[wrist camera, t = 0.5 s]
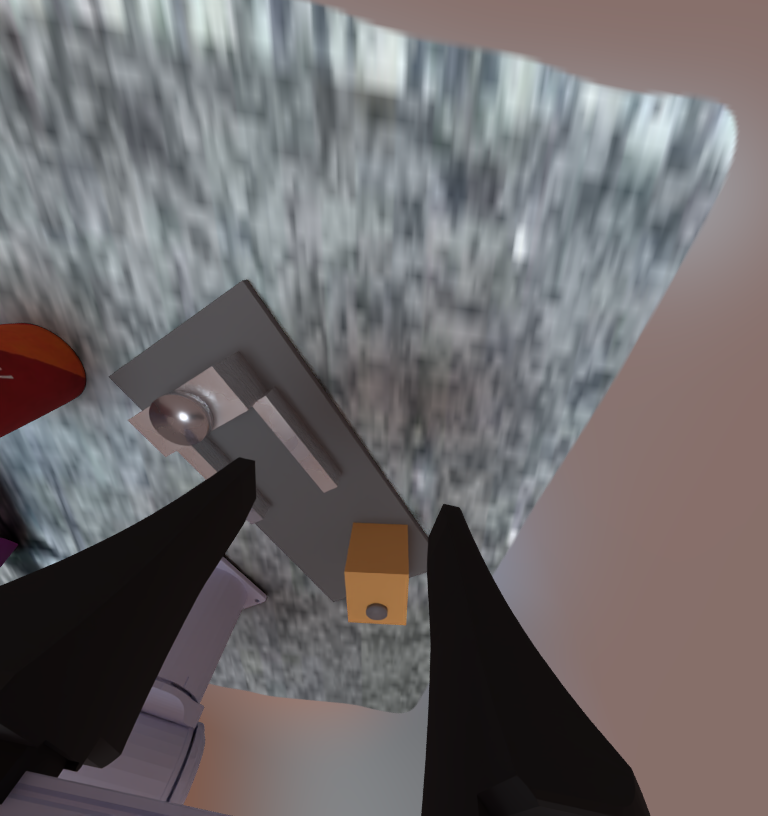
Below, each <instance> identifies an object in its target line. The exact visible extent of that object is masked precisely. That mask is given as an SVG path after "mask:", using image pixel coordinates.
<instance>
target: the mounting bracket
mask: <svg viewBox="0 0 768 816" xmlns="http://www.w3.org/2000/svg"><path fill="white" fill-rule="evenodd" d="M17 546H18V544H17V543H15V542H12V541H10V540H7V539H4V538H0V567H1V566H2V565H3V563H4V562H5V561H6V560H7V558H8V557H9V556H10V555H11V553H12V552H13V551H14V550H15V548H16V547H17Z"/></svg>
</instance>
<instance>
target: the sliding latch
mask: <svg viewBox="0 0 768 816" xmlns="http://www.w3.org/2000/svg"><path fill="white" fill-rule="evenodd" d="M252 406H253V408H254V409H255V410H256V411H257V413H258V414H259V415H260V416H261V417H262V419H263V420H264V421H265V422H266V423H267V425H268V426H269V427H270V428H271V429H272V431H273V432H274V433H275V434H276V436H277V437H278V438H279V439H280V440H281V442H282V443H283V444H284V445H285V446H286V448H287V449H288V450H289V451H290V452H291V454H292V455H293V456H294V457H295V459H296V460H297V461H298V462H299V463H300V465H301V466H302V467H303V468H304V469H305V471H306V472H307V473H308V474H309V475H310V477H311V478H312V479H313V480H314V482H315V483H316V484H317V485H318V486H319V488H320V489H321V490H322V491H323V492H324V493H325V492H327V491H329V490H331V489H334V488H336V487H338V484H339V480H340V477H341V473H342V472H341V471H340V470H339V468H338V467H337V466H336V465H335V463H334V462H333V461H332V459H331V458H330V457H329V455H328V454H327V453H326V452H325V450H324V449H323V448H322V446H321V445H320V444H319V442H318V441H317V440H316V439H315V437H314V436H313V435H312V433H311V432H310V431H309V429H308V428H307V427H306V426H305V424H304V423H303V422H302V420H301V419H300V418H299V416H298V415H297V414H296V413H295V411H294V410H293V409H292V407H291V406H290V405H289V403H288V402H287V401H286V400H285V398H284V397H283V396H282V394H281V393H280V392H279V390H278V389H277V388H276V386H274V387H273V388H271V389H268V388H267V387H266V386H265V384H264V383H263V382H262V380H261V379H260V378H259V377H258V375H257V374H256V373H255V372H254V370H253V369H252V368H251V366H250V365H249V364H248V363H247V361H246V360H245V359H244V357H243V356H242V355H241V354H240V352H239V351H238V352H236V353H234V354H232V355H231V356H229V357H227V358H225V359H224V360H222V361H220V362H218V363H217V364H215V365H213V366H211V367H210V368H208V369H207V370H205V371H204V372H202V373H201V374H199V375H197V376H196V377H194V378H193V379H191V380H190V381H188V382H187V383H185V384H183V385H182V386H180V387H179V388H177V389H176V390H174V391H170V392H168V393H166V394H164V395H162V396H161V397H159V398H157V399H156V400H154V401H153V402H152V404H151V406H149V407H148V408H146V409H145V410H143V411H142V412H140V413H138V414H137V415H135V416H134V417H132V418H131V419H129V420H128V421H129V422H130V423H131V424H132V425H133V426H134V427H135V428H136V429H137V430H138V431H139V432H140V433H141V434H142V435H143V436H144V437H146V438H147V439H148V440H149V441H150V442H151V443H152V444H153V445H154V446H155V447H156V448H157V449H158V450H159V451H160V452H161V453H162V454H163V455H164V456H165V457H166V456H168V455H170V454H172V453H173V452H175V451H178V452H179V453H180V454H181V455H182V456H183V457H184V458H185V459H186V460H187V461H188V462H189V463H190V464H191V465H192V466H193V467H194V468H195V469H196V470H197V471H198V472H199V473H200V474H201V475H202V476H203V477H204V478H205V479H206V480H207V479H208V478H209V477H211V476H212V475H214V474H215V473H217V472H218V471H220V470H221V469H222V468H224V467H225V466H227V465H228V464H229V463H231V461H230V460H229V459H228V458H227V456H226V455H225V454H224V453H223V452H222V451H221V450H220V449H219V448H218V447H217V446H216V445H215V444H214V443H213V442H212V440H211V439H210V438H209V437H208V436H207V435H208V434H209V433H210V432H211V431H212V430H214V429H216V428H218V427H219V426H221V425H223V424H225V423H226V422H228V421H230V420H232V419H233V418H235V417H237V416H239V415H240V414H242V413H244V412H246V411H248V410H249V409H250V408H251V407H252ZM270 505H271V504H270V502H269V501H268V500H267V499H266V498H265V497H264V496H263V495H262V494H261V493H260V492H259V491H258V490H257V489H256V500H255V502H254V504H253V506H252V508H251V510H250V512H249V514H248V516H247V518H246V520H247V521H248V522H249V523H250V524H254V523H256V522H258V521H260V520H263V519H264V517H265V515H266V513H267V511H268V509H269V507H270Z"/></svg>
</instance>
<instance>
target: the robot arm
mask: <svg viewBox="0 0 768 816" xmlns="http://www.w3.org/2000/svg"><path fill="white" fill-rule="evenodd" d="M255 500H256V472H255V461H254V460H250V459H245V458H241V457H239V458H237V459H235V460H234V461H232V462H231V463H229V464H228V465H227V466H225V467H224V468H222V469H221V470H220V471H218V472H217V473H215V474H214V475H212V476H211V477H209V478H208V479H207V480H205V481H204V482H202V483H201V484H199V485H198V486H196V487H195V488H193V489H192V490H190V491H189V492H187V493H186V494H184V495H183V496H181V497H179V498H178V499H176V500H175V501H173V502H171V503H170V504H168V505H167V506H165V507H163V508H162V509H160V510H158V511H157V512H155V513H153V514H152V515H150V516H148V517H147V518H145V519H143V520H141V521H140V522H138V523H136V524H134V525H132V526H130V527H129V528H127V529H125V530H123V531H121V532H119V533H117V534H115V535H113V536H111V537H109V538H107V539H105V540H103V541H101V542H99V543H97V544H95V545H93V546H91V547H89V548H87V549H85V550H83V551H81V552H78V553H76V554H74V555H72V556H70V557H68V558H66V559H63V560H61V561H59V562H56V563H54V564H52V565H49V566H47V567H45V568H42V569H40V570H38V571H35V572H33V573H31V574H28V575H26V576H23V577H21V578H18V579H16V580H14V581H11V582H9V583H6V584H4V585H1V586H0V816H230V815H226V814H221V813H216V812H212V811H208V810H203V809H198V808H194V807H189V806H185V805H183V804H184V802H185V799H186V797H187V795H188V792H189V790H190V788H191V785H192V783H193V780H194V778H195V775H196V772H197V770H198V767H199V764H200V761H201V757H202V754H203V750H204V746H205V734H204V724H203V723H201V722H198V720H199V718H200V716H201V714H202V711H203V709H204V706H203V705H201V704H200V702H201V699H202V697H203V695H204V693H205V691H206V688H207V686H208V684H209V682H210V680H211V677H212V675H213V673H214V671H215V668H216V666H217V664H218V662H219V660H220V657H221V655H222V653H223V651H224V649H225V646H226V644H227V642H228V640H229V637H230V635H231V633H232V631H233V629H234V626H235V624H236V622H237V620H238V618H239V615H240V613H241V611H242V609H245V608H248V607H251V606H254V605H257V604H259V603H262V602H265V601H266V598H267V596H266V594H265V593H263V592H262V591H261V590H260V589H259V588H258V587H257V586H256V585H254V584H253V583H252V582H251V581H250V580H249V579H248V578H247V577H245V576H244V575H243V574H242V573H241V572H240V571H239V570H238V569H236V568H235V567H234V566H233V565H232V564H231V563H230V562H229V561H227V560H226V559H225V558H224V557H223V556H224V554H225V553H226V551H227V549H228V548H229V546H230V545H231V543H232V542H233V540H234V538H235V537H236V535H237V534H238V532H239V531H240V529H241V527H242V526H243V524H244V522H245V520H246V518H247V516H248V514H249V512H250V510H251V508H252V506H253V504H254V502H255ZM427 579H428V598H429V616H430V640H431V652H430V684H429V707H428V708H429V709H428V727H427V744H426V761H425V774H424V788H423V801H422V813H421V816H650V813H649V811H648V808H647V805H646V802H645V800H644V797H643V794H642V792H641V790H640V787H639V785H638V783H637V780H636V778H635V776H634V773H633V771H632V769H631V767H630V766H629V765H628V764H627V763H626V762H625V760H624V759H623V758H622V757H621V756H620V754H619V753H618V752H617V751H616V750H615V749H614V747H613V746H612V745H611V744H610V743H609V742H608V741H607V739H606V738H605V737H604V736H603V735H602V733H601V732H600V731H599V730H598V729H597V727H595V725H594V724H593V723H592V722H591V721H590V719H589V718H588V717H587V716H586V714H585V713H584V712H583V711H582V709H581V708H580V707H579V705H578V704H577V703H576V702H575V700H574V699H573V698H572V697H571V695H570V694H569V693H568V692H567V690H566V689H565V688H564V686H563V685H562V684H561V682H560V681H559V679H558V678H557V677H556V675H555V674H554V673H553V671H552V670H551V669H550V667H549V666H548V664H547V663H546V662H545V660H544V659H543V658H542V656H541V655H540V654H539V652H538V651H537V649H536V648H535V647H534V645H533V643H532V642H531V640H530V639H529V638H528V636H527V634H526V633H525V631H524V630H523V628H522V627H521V625H520V624H519V622H518V620H517V619H516V617H515V616H514V614H513V613H512V611H511V609H510V607H509V606H508V604H507V602H506V601H505V599H504V597H503V595H502V594H501V592H500V590H499V588H498V587H497V585H496V583H495V581H494V579H493V577H492V575H491V573H490V572H489V570H488V568H487V566H486V564H485V562H484V560H483V558H482V556H481V554H480V552H479V549H478V547H477V545H476V543H475V541H474V539H473V537H472V534H471V532H470V530H469V528H468V525H467V523H466V521H465V518H464V516H463V514H462V511H461V509H460V508H459V507H455V506H451V505H446V504H443V506H442V508H441V510H440V513H439V515H438V517H437V519H436V522H435V524H434V526H433V528H432V530H431V533H430V535H429V537H428V552H427Z"/></svg>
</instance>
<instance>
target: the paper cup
mask: <svg viewBox="0 0 768 816" xmlns="http://www.w3.org/2000/svg"><path fill="white" fill-rule="evenodd" d="M85 385H86V375H85V371H84V368H83V365H82V363H81V361H80V360H79V358H78V356H77V355H76V354H75V352H74V351H73V350H72V349H71V347H70V346H69V345H68V344H67V343H65V342H64V341H63V340H62V339H61V338H59V337H58V336H57V335H55V334H54V333H52V332H50V331H48V330H46V329H44V328H42V327H39V326H36V325H33V324H26V323H15V324H1V325H0V437H2V436H4V435H6V434H8V433H10V432H12V431H14V430H16V429H18V428H20V427H22V426H24V425H26V424H28V423H30V422H32V421H34V420H36V419H38V418H39V417H41V416H43V415H45V414H47V413H49V412H51V411H53V410H55V409H57V408H59V407H60V406H62V405H64V404H66V403H68V402H70V401H71V400H73V399H75V398H76V397H78V396H79V395H80V394H81V393H82V392H83V390H84V388H85Z"/></svg>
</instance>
